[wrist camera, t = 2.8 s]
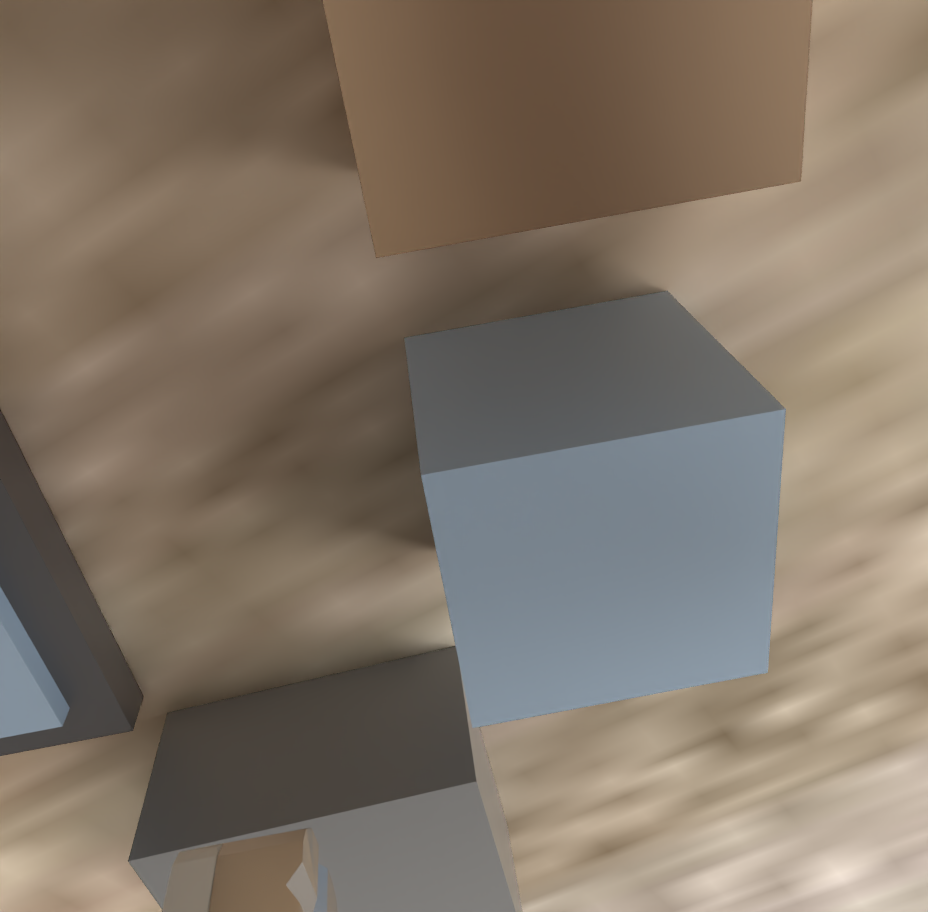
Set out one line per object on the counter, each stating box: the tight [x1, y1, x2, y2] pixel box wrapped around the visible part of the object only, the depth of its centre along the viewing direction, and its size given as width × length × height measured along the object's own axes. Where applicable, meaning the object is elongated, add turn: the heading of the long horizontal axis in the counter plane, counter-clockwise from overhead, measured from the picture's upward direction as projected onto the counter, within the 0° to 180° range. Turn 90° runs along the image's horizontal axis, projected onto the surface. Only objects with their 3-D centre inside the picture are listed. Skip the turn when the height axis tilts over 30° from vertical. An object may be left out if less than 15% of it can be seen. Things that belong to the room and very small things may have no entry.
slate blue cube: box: [404, 291, 786, 728], centre depth 14 cm, size 5×5×5 cm
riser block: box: [128, 646, 523, 912], centre depth 19 cm, size 7×7×4 cm
